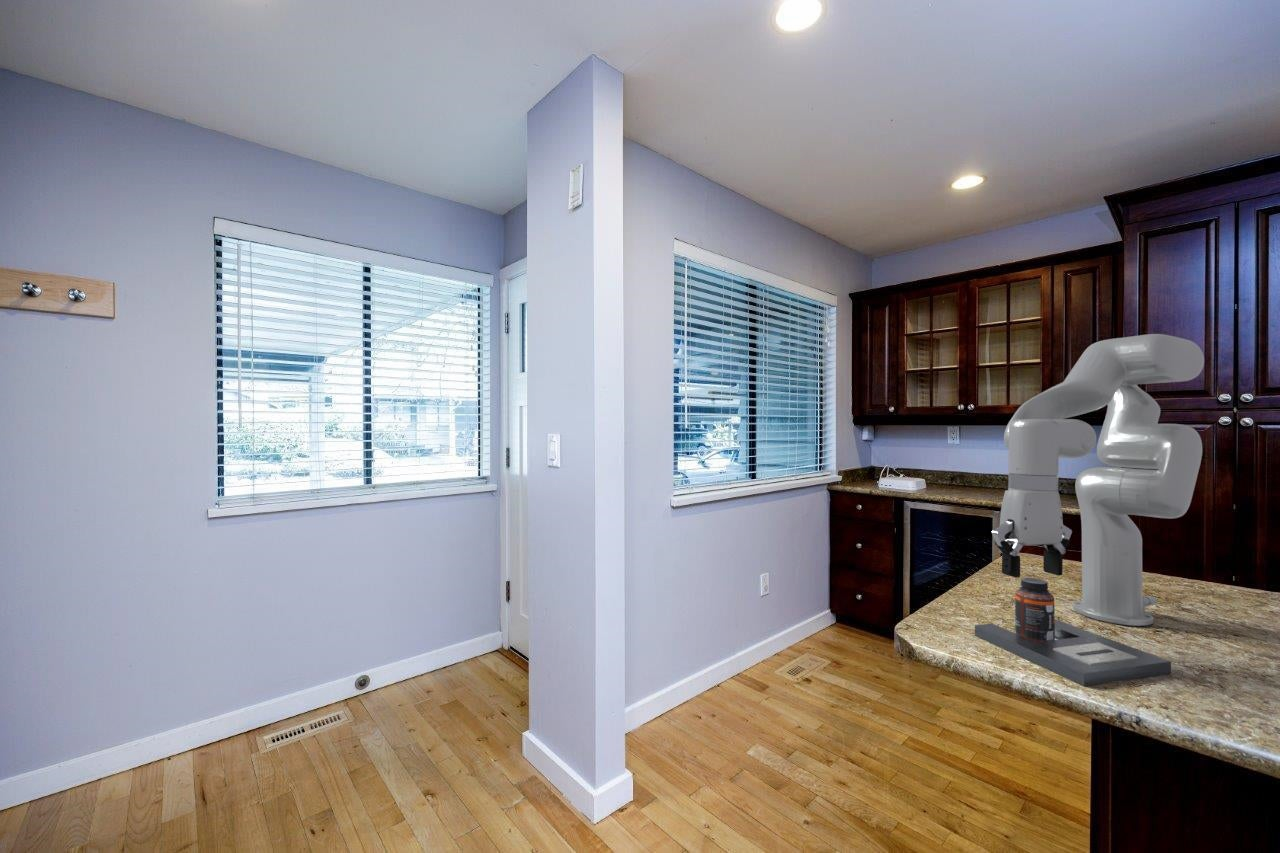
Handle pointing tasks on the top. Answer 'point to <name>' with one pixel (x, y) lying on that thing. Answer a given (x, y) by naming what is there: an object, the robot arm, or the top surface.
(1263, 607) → the top surface
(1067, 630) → the plate
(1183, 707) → the top surface
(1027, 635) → the supplement bottle
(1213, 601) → the top surface
